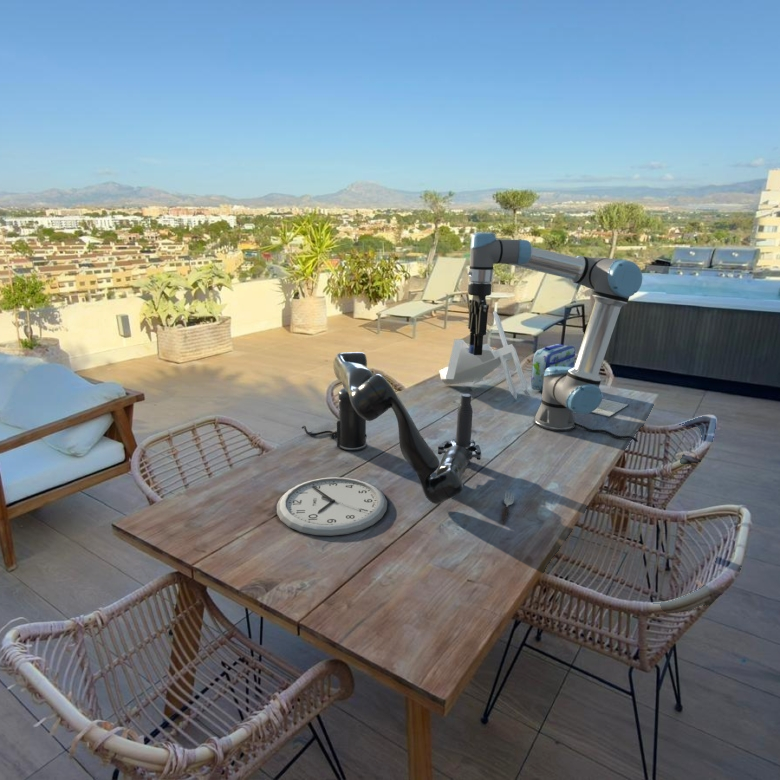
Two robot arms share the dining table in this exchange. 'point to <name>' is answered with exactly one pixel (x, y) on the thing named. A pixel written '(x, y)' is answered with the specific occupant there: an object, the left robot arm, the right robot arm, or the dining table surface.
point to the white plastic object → (482, 362)
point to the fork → (507, 502)
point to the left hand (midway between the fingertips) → (464, 441)
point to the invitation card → (608, 407)
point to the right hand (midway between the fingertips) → (475, 353)
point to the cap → (471, 349)
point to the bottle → (464, 421)
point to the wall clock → (331, 506)
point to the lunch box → (550, 362)
